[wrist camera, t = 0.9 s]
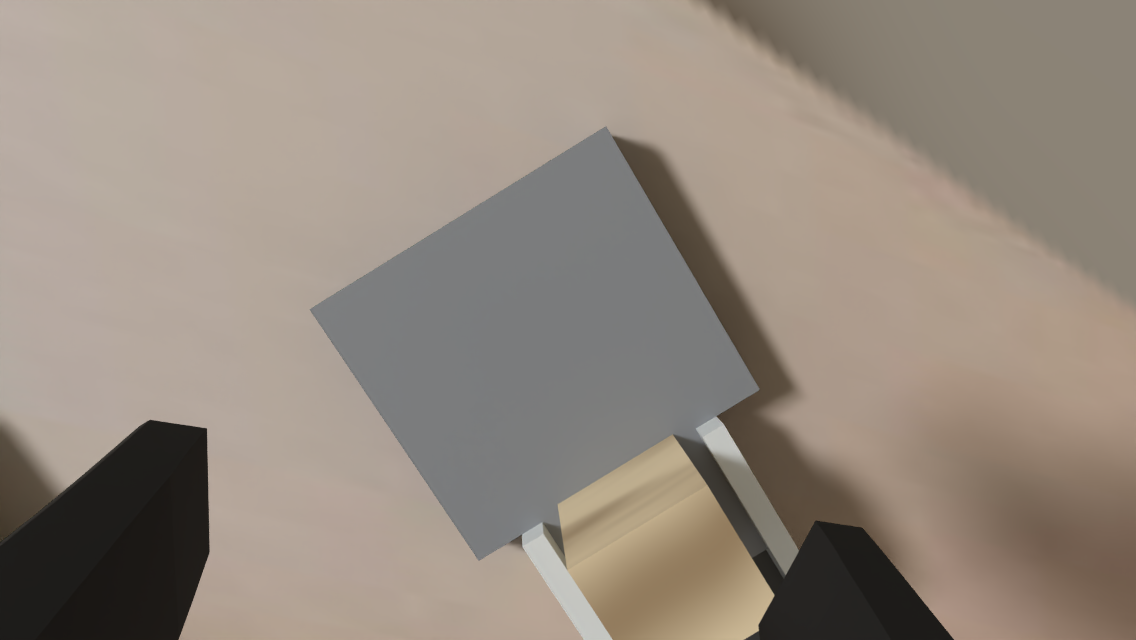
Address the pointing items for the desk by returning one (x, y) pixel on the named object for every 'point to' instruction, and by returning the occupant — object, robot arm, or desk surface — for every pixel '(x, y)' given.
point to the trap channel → (552, 362)
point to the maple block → (661, 553)
